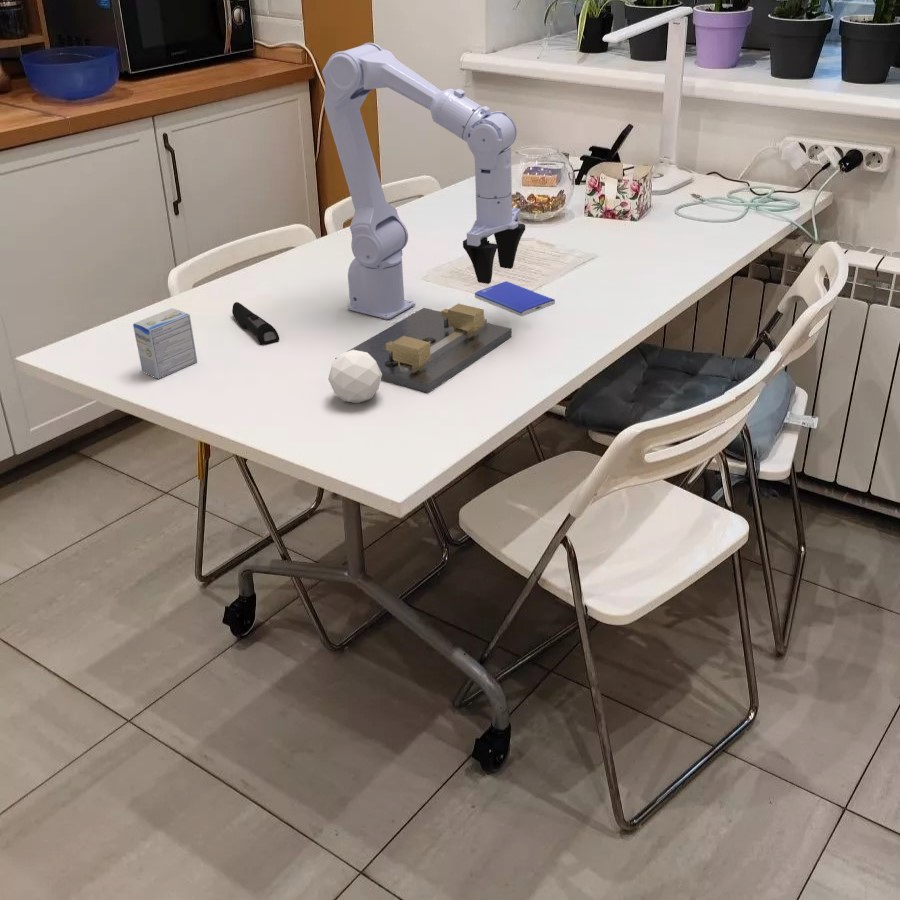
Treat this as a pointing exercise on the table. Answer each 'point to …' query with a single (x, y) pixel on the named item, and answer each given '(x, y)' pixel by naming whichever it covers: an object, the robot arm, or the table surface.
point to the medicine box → (165, 342)
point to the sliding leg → (464, 318)
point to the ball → (355, 376)
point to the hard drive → (514, 298)
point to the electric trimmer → (255, 324)
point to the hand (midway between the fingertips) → (495, 274)
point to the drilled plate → (442, 363)
